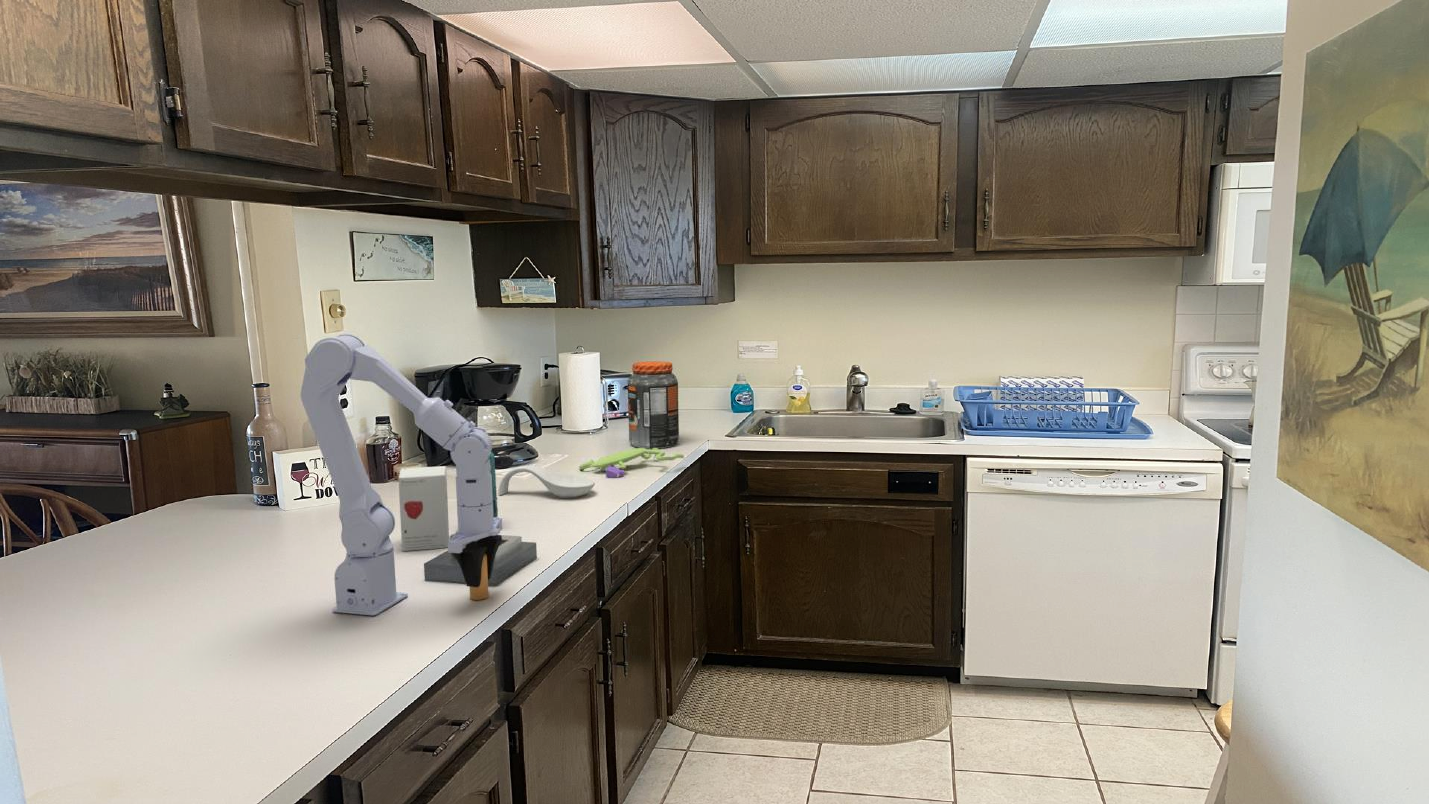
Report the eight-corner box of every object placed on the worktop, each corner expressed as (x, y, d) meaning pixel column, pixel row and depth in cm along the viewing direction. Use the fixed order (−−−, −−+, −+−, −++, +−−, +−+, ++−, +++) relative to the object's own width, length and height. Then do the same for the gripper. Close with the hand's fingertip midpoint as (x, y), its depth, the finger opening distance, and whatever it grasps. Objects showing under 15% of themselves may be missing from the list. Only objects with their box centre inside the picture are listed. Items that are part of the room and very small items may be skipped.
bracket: (496, 563, 161) (495, 552, 160) (460, 560, 162) (460, 549, 162) (521, 546, 170) (521, 536, 170) (487, 544, 172) (487, 534, 172)
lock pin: (483, 600, 150) (481, 559, 149) (466, 599, 151) (464, 558, 150) (491, 594, 153) (489, 554, 152) (475, 593, 154) (473, 552, 153)
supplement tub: (631, 440, 295) (629, 360, 291) (680, 440, 295) (678, 360, 291) (626, 450, 279) (624, 365, 275) (677, 449, 279) (676, 365, 275)
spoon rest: (600, 490, 228) (599, 462, 227) (588, 502, 216) (587, 472, 215) (508, 489, 231) (507, 461, 230) (492, 500, 219) (490, 471, 218)
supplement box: (401, 552, 178) (396, 477, 176) (403, 539, 186) (399, 467, 184) (449, 548, 180) (445, 473, 178) (450, 535, 189) (446, 464, 187)
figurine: (689, 472, 248) (689, 452, 248) (595, 482, 237) (594, 461, 236) (663, 460, 265) (663, 441, 264) (574, 469, 254) (574, 449, 253)
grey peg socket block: (496, 585, 158) (495, 552, 157) (424, 580, 161) (422, 547, 160) (536, 557, 173) (535, 527, 172) (470, 553, 176) (468, 523, 176)
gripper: (474, 515, 142) (478, 599, 144) (517, 493, 156) (520, 570, 158) (434, 513, 143) (438, 595, 145) (479, 491, 157) (483, 567, 159)
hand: (478, 582), depth 152 cm, fingers closed on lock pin, 3 cm apart
